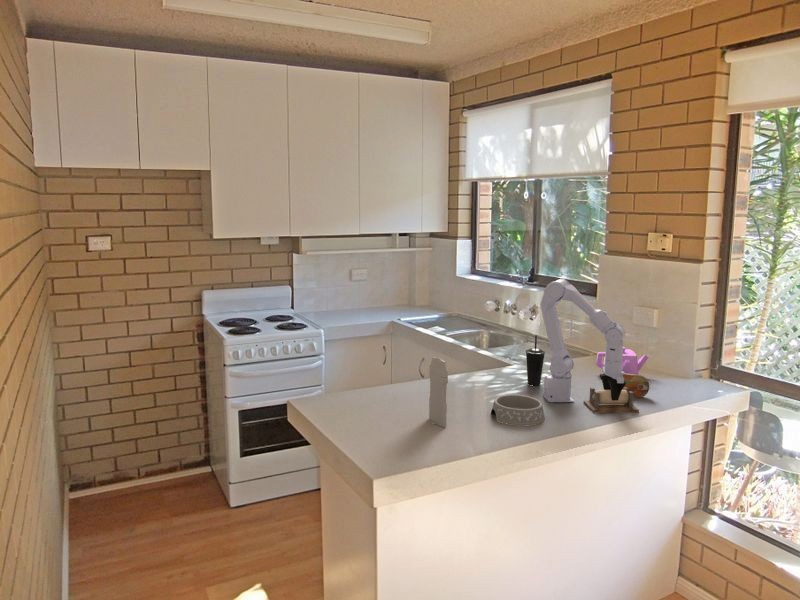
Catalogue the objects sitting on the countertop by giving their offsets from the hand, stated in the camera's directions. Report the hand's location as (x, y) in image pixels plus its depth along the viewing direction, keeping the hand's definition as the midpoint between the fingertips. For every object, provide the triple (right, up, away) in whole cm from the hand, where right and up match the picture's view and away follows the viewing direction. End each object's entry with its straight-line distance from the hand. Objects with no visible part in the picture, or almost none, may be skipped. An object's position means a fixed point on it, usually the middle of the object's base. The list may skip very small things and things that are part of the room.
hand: (611, 397), depth 218 cm
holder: (0, -4, +1) cm, 4 cm away
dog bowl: (-35, -6, -8) cm, 36 cm away
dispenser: (-62, -6, -15) cm, 64 cm away
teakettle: (+18, +2, +40) cm, 44 cm away
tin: (+11, -2, +15) cm, 19 cm away
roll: (0, -2, +1) cm, 2 cm away
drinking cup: (-21, 0, +27) cm, 35 cm away
